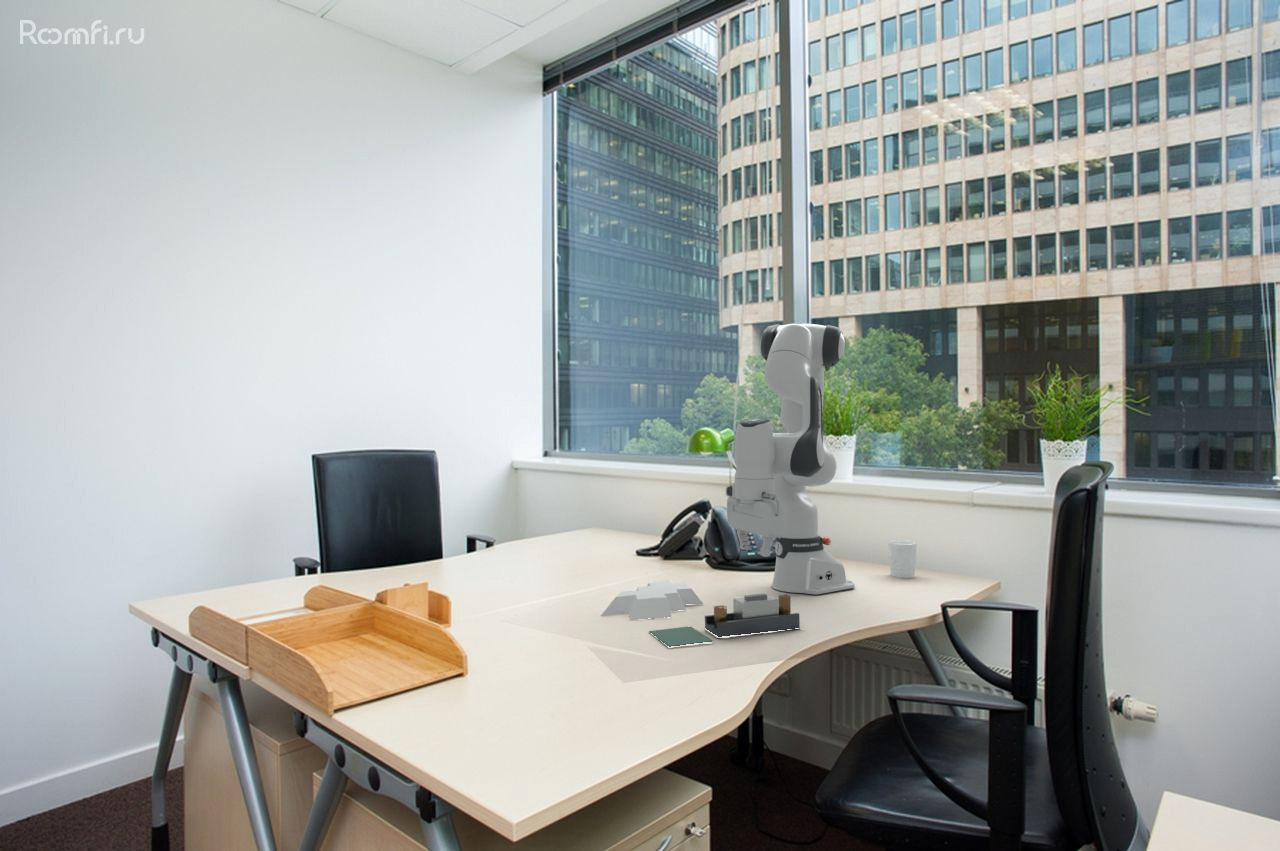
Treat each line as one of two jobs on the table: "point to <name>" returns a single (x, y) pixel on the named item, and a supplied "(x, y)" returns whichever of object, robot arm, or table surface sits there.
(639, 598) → the white jagged cross block
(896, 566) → the white cup
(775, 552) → the robot arm
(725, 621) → the dark grey channel holder
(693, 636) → the rubber mat
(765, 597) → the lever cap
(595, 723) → the table surface
